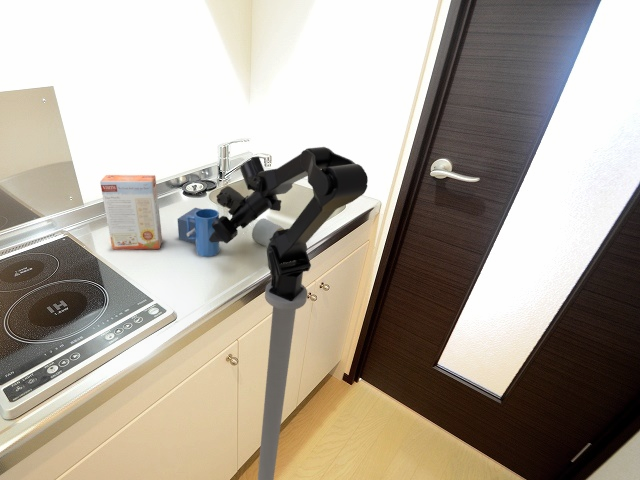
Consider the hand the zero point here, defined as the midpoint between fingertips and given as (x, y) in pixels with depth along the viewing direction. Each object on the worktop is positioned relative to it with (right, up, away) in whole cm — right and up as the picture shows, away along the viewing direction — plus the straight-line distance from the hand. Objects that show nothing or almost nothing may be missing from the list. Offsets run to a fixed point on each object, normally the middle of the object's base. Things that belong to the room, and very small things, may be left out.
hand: (218, 234), depth 103 cm
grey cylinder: (+16, -2, +10) cm, 19 cm away
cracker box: (-25, -3, +7) cm, 26 cm away
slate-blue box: (-8, -1, +11) cm, 14 cm away
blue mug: (-5, -4, +5) cm, 8 cm away
